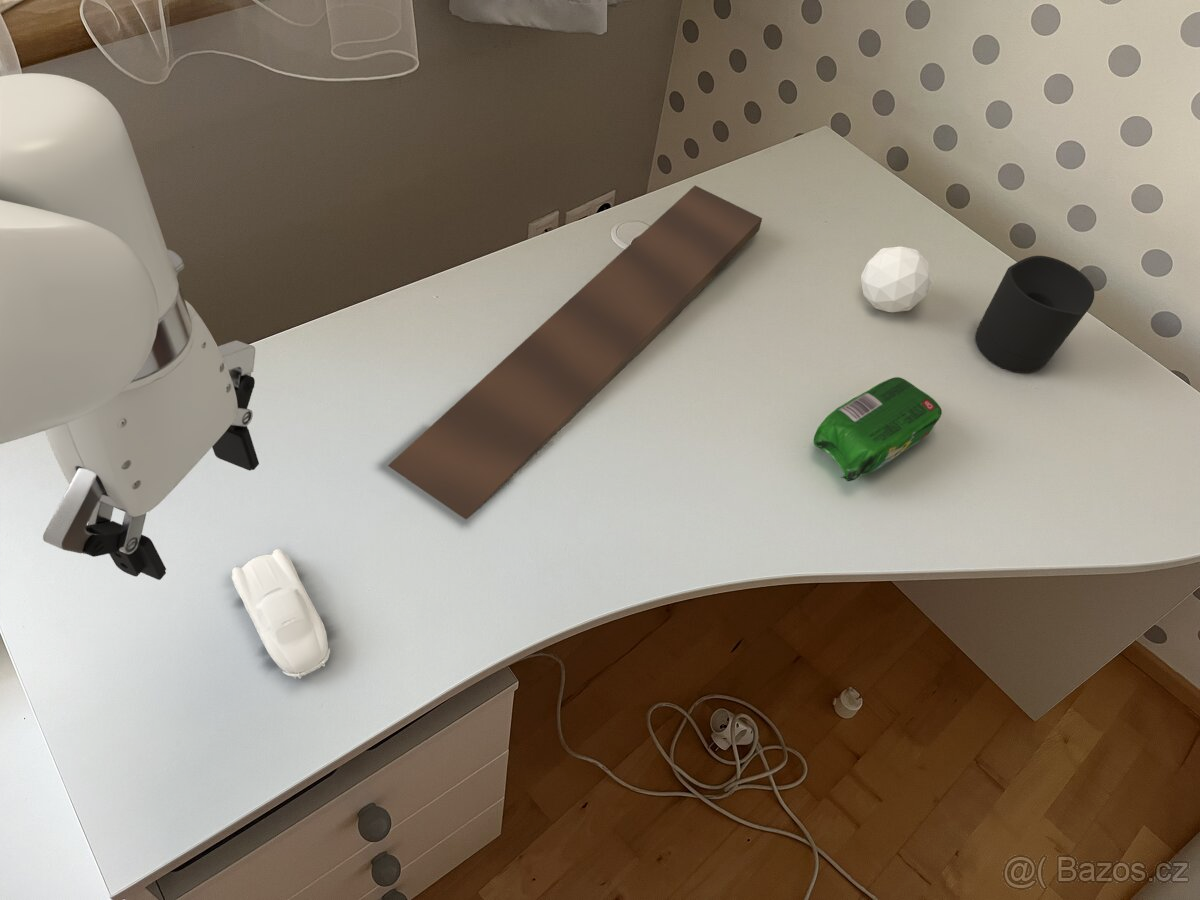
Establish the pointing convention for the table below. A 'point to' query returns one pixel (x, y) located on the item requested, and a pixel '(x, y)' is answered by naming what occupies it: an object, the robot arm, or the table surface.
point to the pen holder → (1033, 313)
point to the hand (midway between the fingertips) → (193, 512)
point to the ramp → (575, 353)
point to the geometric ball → (896, 279)
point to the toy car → (282, 613)
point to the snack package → (877, 426)
